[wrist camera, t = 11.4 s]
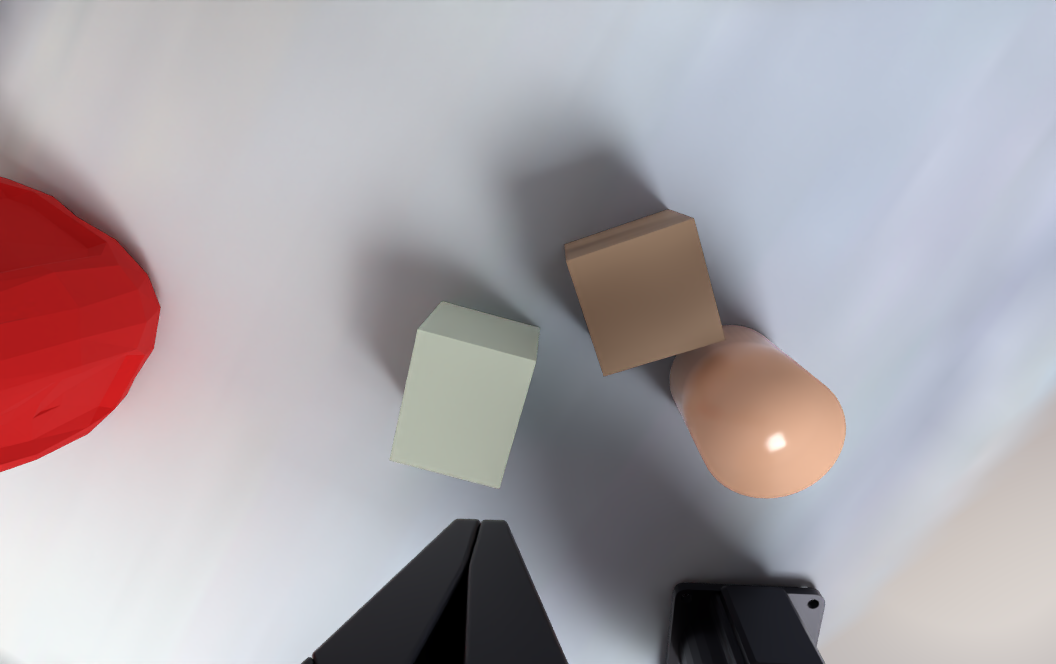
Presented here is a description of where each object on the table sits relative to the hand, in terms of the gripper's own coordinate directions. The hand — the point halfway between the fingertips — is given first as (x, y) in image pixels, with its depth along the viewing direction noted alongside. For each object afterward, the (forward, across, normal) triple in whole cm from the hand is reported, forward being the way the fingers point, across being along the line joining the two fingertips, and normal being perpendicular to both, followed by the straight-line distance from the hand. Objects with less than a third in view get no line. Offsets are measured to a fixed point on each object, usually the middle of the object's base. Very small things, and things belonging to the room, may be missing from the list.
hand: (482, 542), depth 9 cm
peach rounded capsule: (+13, -8, +2) cm, 15 cm away
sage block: (+13, +2, +2) cm, 13 cm away
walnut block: (+13, -4, -2) cm, 14 cm away
